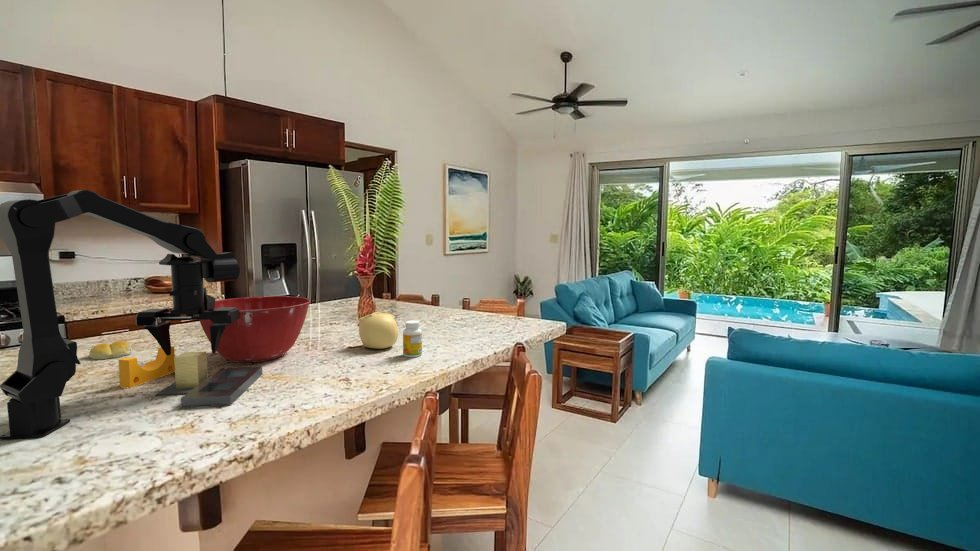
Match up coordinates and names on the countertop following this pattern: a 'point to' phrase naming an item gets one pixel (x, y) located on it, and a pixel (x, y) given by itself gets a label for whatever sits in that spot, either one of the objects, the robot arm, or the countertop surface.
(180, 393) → the mat
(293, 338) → the mixing bowl
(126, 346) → the bread roll
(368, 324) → the pale yellow melon
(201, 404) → the gray slotted plate
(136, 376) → the pipe clamp
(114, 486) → the countertop surface
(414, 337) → the supplement bottle
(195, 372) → the pale yellow block
